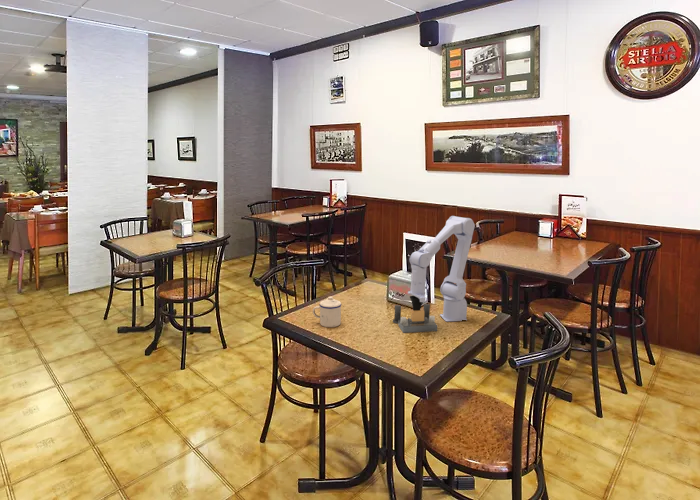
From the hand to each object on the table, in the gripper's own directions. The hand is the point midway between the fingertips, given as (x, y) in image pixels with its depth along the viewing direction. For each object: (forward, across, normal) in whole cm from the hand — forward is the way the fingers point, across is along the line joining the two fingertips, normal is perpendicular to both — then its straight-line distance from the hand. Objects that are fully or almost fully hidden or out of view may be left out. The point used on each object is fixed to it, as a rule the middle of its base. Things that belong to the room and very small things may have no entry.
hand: (416, 313), depth 181 cm
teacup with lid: (+7, -9, -35) cm, 37 cm away
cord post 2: (+6, -8, +7) cm, 12 cm away
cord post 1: (+6, -8, -6) cm, 11 cm away
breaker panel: (+6, 0, +1) cm, 6 cm away
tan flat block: (+3, 0, +1) cm, 3 cm away
